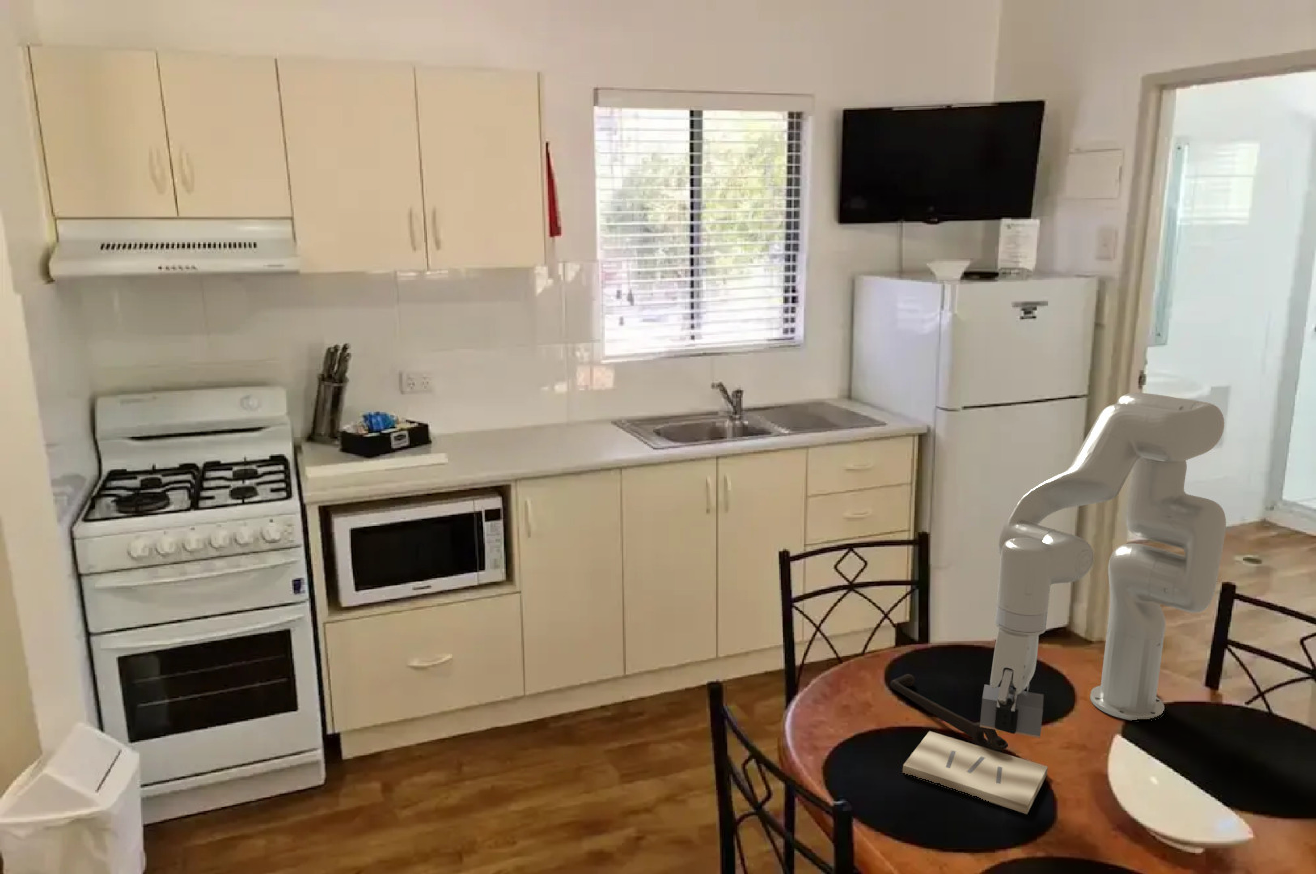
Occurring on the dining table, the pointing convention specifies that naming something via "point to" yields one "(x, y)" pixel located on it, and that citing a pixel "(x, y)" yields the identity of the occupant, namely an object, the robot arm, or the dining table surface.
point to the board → (977, 771)
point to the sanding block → (1026, 706)
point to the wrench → (951, 716)
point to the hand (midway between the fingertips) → (1010, 721)
